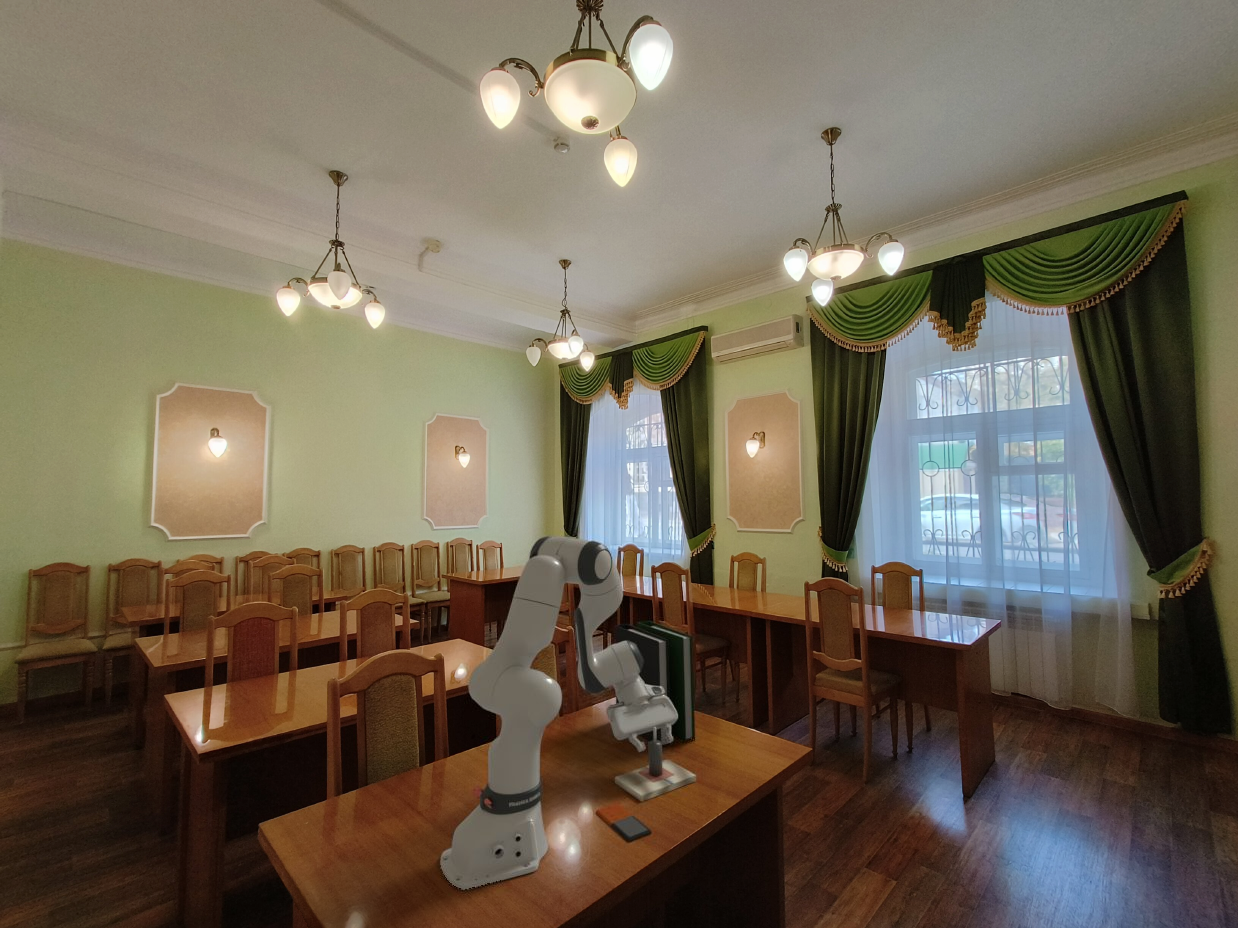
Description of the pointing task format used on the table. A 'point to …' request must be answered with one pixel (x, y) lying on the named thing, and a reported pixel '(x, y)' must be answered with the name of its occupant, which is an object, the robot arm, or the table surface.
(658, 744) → the grey cylinder with rod
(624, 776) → the cream flat block
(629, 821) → the phone
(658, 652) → the binder
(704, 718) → the table surface
